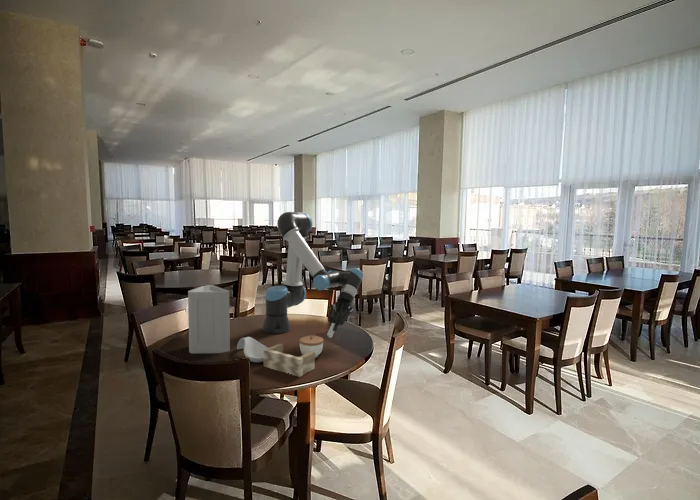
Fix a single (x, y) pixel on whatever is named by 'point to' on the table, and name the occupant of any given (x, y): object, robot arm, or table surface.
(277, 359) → the open wooden box
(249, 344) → the spoon rest
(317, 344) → the lidded jar
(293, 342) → the table surface
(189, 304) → the grey triangular prism
